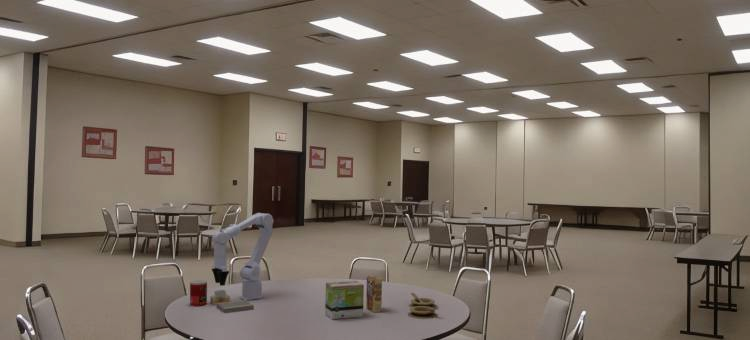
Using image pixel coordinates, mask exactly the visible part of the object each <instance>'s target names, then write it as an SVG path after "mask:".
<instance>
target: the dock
mask: <svg viewBox="0 0 750 340" xmlns="http://www.w3.org/2000/svg"><path fill="white" fill-rule="evenodd" d="M254 308H255V306H254V304H253V303H251V302H249V300H243V299H241V300H233V301H230V302H223V303H217V305H216V309H217V310H219V311H220V312H222V313H223V312H224V314H227V313H228V314H229V313H235V312H236V311H237V312H241V311H242V312H243V311H250V310H251V311H252V310H254Z"/></svg>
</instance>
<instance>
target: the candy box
mask: <svg viewBox="0 0 750 340" xmlns="http://www.w3.org/2000/svg"><path fill="white" fill-rule="evenodd" d="M365 293H366V302H365V303H366V305H365V309H367V310H369V311H371V312H373V313H380V312H382V309H383V308H382V303H383V302H382V301H383V298H382V297H383V279H382V278H380V277H377V276H374V275H369V276H366V292H365Z"/></svg>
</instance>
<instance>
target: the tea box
mask: <svg viewBox="0 0 750 340" xmlns="http://www.w3.org/2000/svg"><path fill="white" fill-rule="evenodd" d="M364 287H365V285H364V284H362V283H360V282H359V281H357V280H349V281H333V282H326V283H325V298H324V299H325V305H324V306H325V307H324V314H325V315H326V316H327V317H328V318H329V319H330V320H337V319H348V318H363V317H364V297H365V296H364Z"/></svg>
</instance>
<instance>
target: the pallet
mask: <svg viewBox="0 0 750 340" xmlns="http://www.w3.org/2000/svg"><path fill="white" fill-rule="evenodd" d="M209 299H210V304H211V305H212V306H217V303H223V302H231V301H230V300H231V297H230V295H229V294H227V293H226V296H225V297H215V295H210V298H209Z"/></svg>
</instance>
